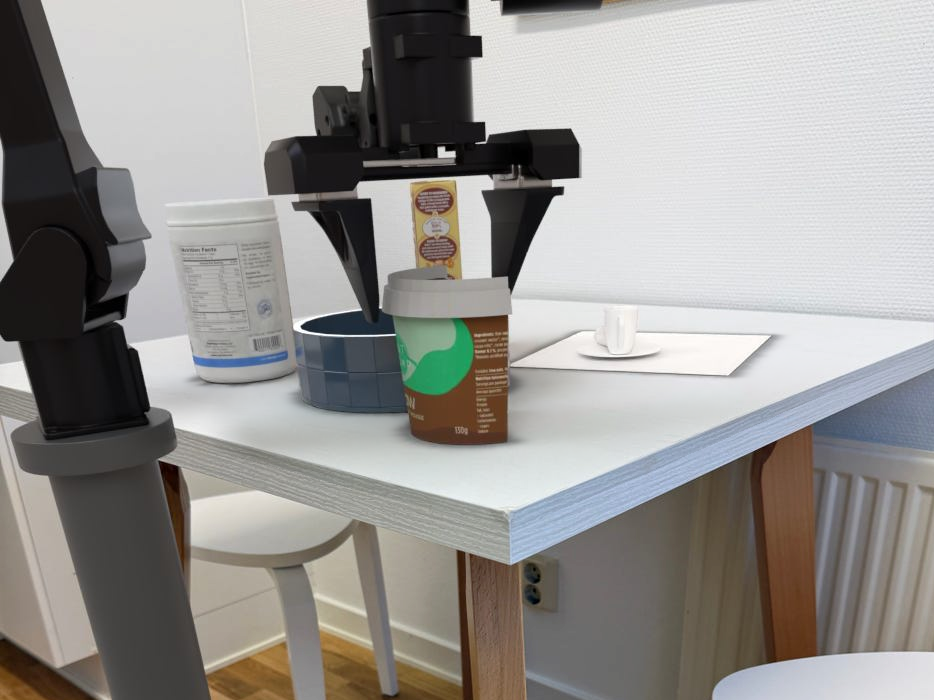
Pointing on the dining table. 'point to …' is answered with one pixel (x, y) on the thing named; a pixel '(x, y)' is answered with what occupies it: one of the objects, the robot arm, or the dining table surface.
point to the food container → (452, 353)
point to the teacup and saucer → (644, 349)
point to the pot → (351, 363)
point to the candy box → (436, 225)
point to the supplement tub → (233, 288)
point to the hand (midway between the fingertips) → (438, 314)
